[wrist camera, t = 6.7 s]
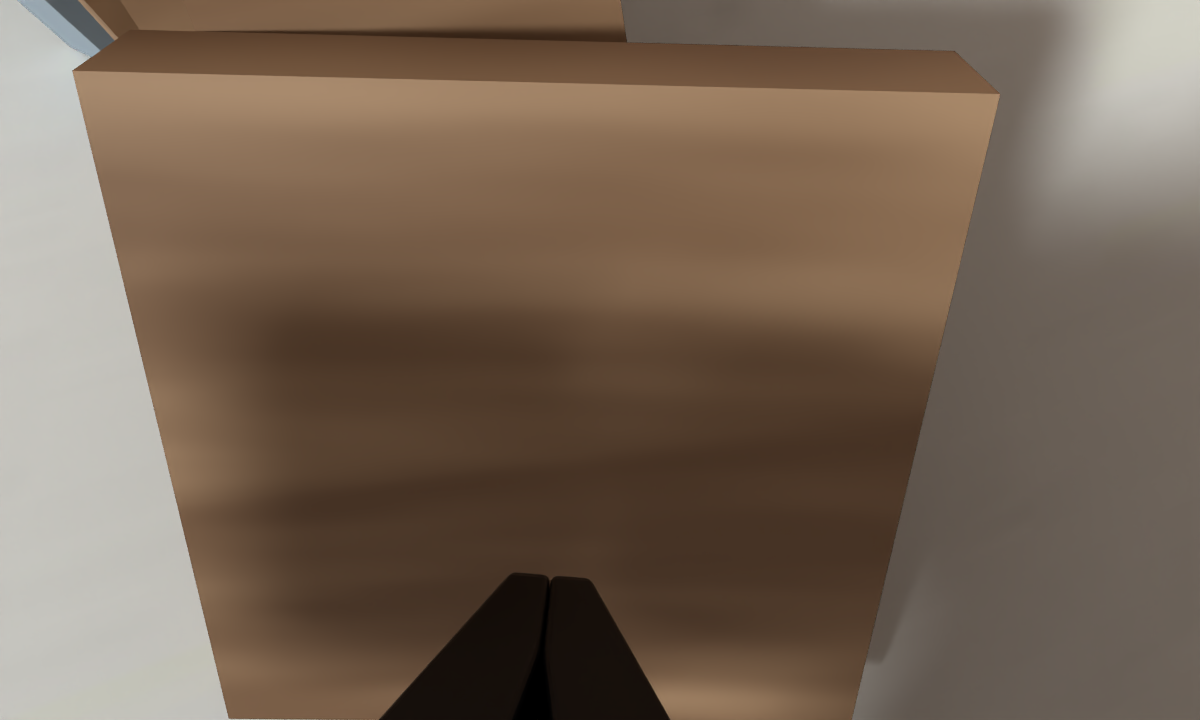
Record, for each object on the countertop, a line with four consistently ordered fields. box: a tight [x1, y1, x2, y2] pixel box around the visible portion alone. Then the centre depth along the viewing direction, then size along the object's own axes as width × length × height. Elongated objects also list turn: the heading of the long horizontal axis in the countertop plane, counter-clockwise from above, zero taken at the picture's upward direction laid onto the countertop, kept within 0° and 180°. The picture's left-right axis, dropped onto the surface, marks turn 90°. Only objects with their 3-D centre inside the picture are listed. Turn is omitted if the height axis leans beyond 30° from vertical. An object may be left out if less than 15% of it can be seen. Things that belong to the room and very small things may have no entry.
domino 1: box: [183, 0, 627, 43], centre depth 15 cm, size 2×5×10 cm
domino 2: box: [73, 30, 1000, 720], centre depth 14 cm, size 2×10×10 cm
